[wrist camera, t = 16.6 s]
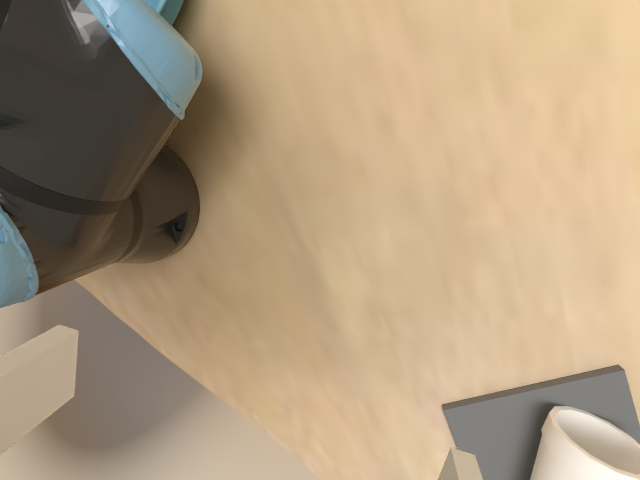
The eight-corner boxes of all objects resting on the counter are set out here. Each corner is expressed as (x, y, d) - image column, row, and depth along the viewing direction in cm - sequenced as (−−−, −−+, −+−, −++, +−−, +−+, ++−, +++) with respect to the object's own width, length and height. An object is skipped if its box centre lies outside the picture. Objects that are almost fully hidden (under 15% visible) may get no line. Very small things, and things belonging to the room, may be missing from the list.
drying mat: (480, 508, 48) (482, 515, 47) (442, 404, 46) (443, 410, 45) (650, 481, 44) (656, 488, 43) (618, 364, 41) (624, 369, 40)
